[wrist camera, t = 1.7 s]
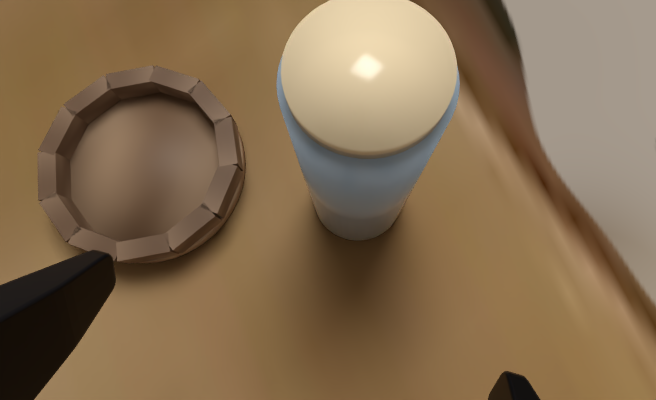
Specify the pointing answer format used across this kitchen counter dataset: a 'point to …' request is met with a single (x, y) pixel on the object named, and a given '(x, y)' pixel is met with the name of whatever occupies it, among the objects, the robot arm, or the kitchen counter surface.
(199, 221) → the walnut tray
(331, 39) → the bead jar
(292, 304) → the kitchen counter surface
